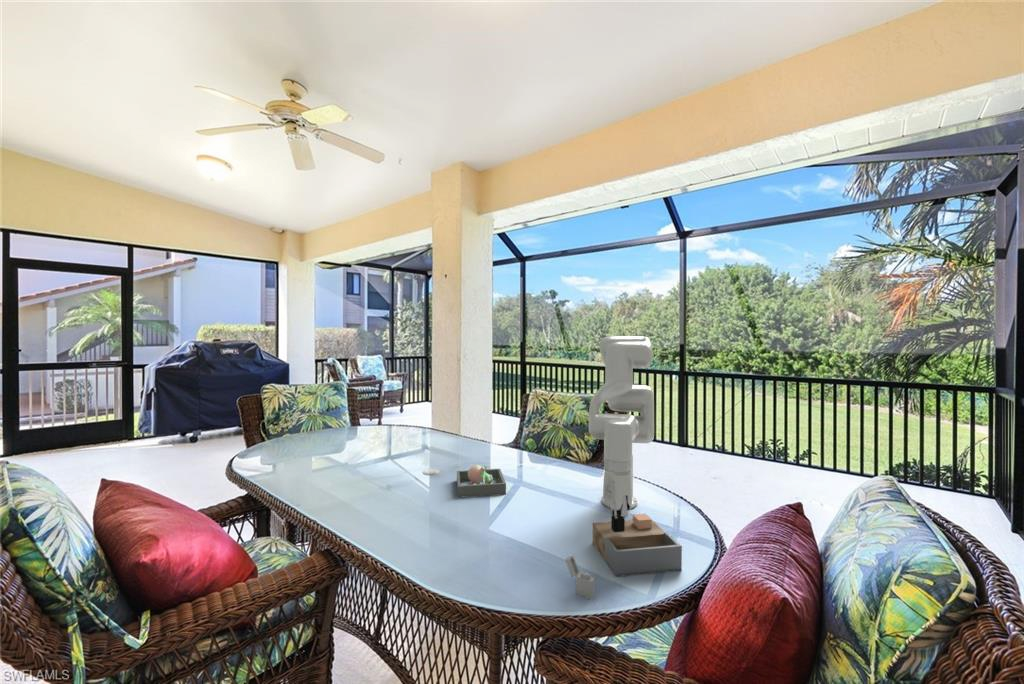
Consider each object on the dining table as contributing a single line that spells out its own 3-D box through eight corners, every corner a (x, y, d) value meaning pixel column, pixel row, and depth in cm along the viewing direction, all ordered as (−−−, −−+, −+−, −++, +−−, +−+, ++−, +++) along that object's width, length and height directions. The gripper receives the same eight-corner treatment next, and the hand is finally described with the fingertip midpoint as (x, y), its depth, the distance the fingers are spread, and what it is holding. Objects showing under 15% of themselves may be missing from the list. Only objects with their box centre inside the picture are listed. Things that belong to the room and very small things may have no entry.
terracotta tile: (632, 522, 133) (632, 514, 132) (645, 521, 133) (645, 513, 133) (638, 529, 129) (638, 520, 128) (651, 528, 129) (651, 519, 129)
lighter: (594, 596, 107) (594, 563, 107) (591, 599, 106) (591, 566, 106) (568, 585, 112) (568, 554, 111) (565, 589, 110) (565, 556, 110)
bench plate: (592, 542, 133) (592, 522, 133) (650, 538, 136) (650, 518, 135) (604, 560, 123) (604, 538, 123) (666, 554, 126) (666, 533, 126)
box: (604, 560, 123) (604, 537, 123) (666, 554, 126) (666, 532, 126) (615, 576, 115) (615, 551, 115) (681, 570, 118) (681, 546, 118)
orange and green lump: (490, 478, 172) (502, 474, 179) (474, 458, 176) (487, 455, 184) (472, 499, 175) (485, 494, 183) (457, 479, 179) (471, 475, 187)
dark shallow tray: (456, 480, 187) (456, 471, 187) (500, 478, 189) (500, 468, 189) (458, 497, 169) (458, 486, 169) (506, 494, 172) (505, 483, 171)
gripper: (596, 457, 131) (596, 520, 132) (615, 474, 116) (614, 544, 117) (620, 456, 132) (620, 518, 133) (642, 472, 118) (642, 542, 118)
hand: (617, 530), depth 125 cm, fingers closed
